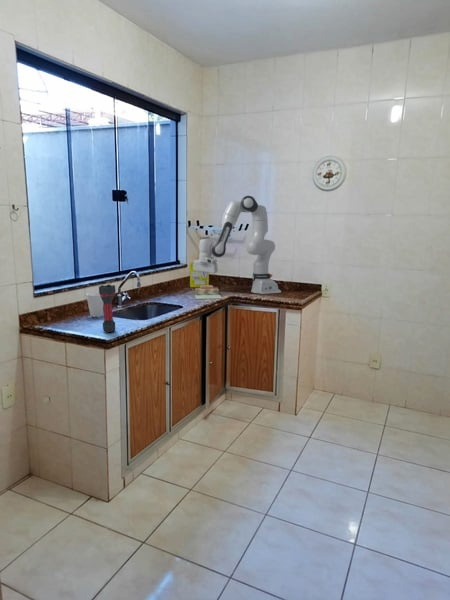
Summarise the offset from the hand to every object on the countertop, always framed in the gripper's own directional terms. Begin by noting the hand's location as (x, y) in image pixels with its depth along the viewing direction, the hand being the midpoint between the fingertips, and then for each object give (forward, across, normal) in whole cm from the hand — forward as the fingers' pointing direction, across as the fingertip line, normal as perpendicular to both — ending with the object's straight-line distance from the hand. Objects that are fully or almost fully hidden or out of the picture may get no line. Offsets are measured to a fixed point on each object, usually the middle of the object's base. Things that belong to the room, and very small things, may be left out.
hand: (205, 277), depth 309 cm
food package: (+12, -17, +17) cm, 27 cm away
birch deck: (+11, +7, -7) cm, 14 cm away
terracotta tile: (+7, +6, -6) cm, 11 cm away
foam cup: (+11, -7, -98) cm, 99 cm away
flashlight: (+10, +25, -118) cm, 121 cm away
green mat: (+10, +14, -16) cm, 24 cm away
